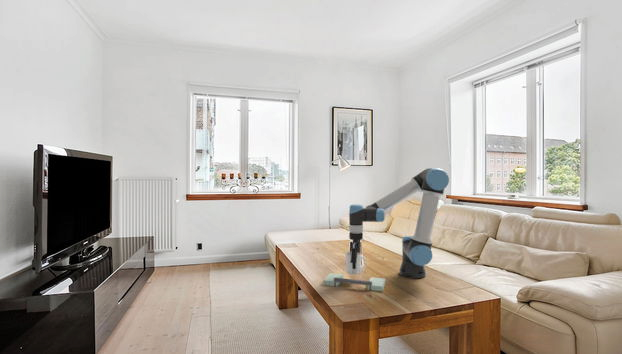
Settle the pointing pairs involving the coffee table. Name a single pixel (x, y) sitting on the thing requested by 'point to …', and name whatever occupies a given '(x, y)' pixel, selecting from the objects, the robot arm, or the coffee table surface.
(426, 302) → the coffee table surface
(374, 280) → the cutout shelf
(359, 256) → the mug
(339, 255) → the coffee table surface
